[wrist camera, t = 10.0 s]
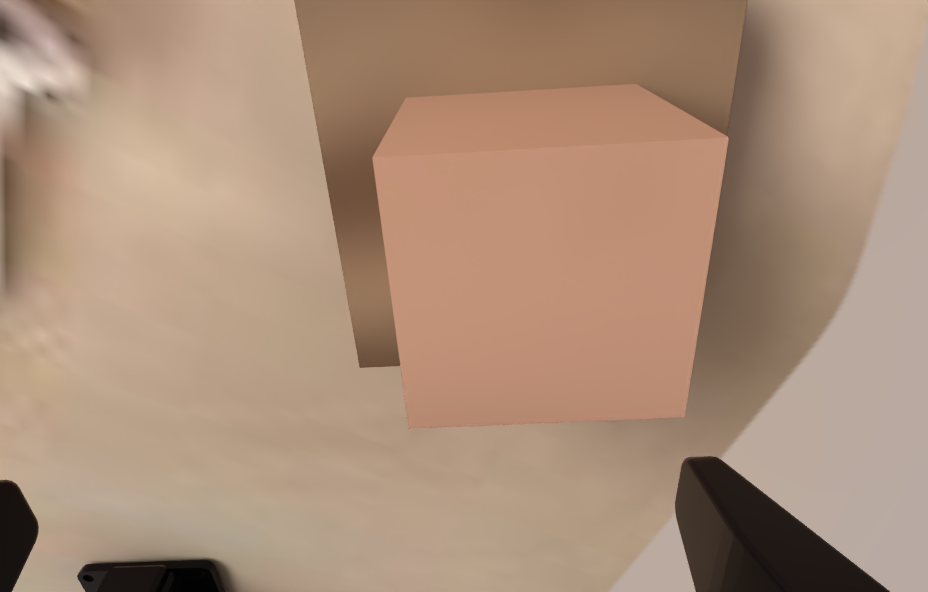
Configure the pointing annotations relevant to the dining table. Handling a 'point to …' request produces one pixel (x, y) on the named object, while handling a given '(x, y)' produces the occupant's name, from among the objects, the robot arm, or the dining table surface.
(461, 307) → the terracotta cube
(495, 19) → the walnut base
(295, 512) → the dining table surface
